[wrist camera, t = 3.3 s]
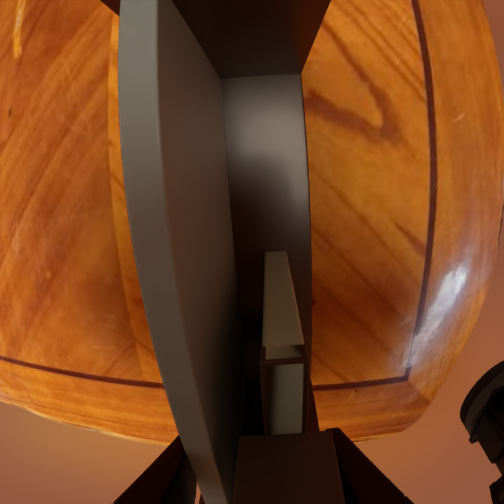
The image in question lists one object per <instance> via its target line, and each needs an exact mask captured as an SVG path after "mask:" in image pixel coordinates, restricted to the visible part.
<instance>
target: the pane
mask: <svg viewBox="0 0 504 504" xmlns="http://www.w3.org/2000/svg"><path fill="white" fill-rule="evenodd" d="M259 368H260V381H261V394H262V408H263V421H264V434H265V435H240V437H239V443H238V453H237V462H236V472H235V481H234V490H233V500H232V504H345V498H344V492H343V487H342V481H341V476H340V470H339V465H338V460H337V454H336V449H335V444H334V439H333V434H332V431H331V430H328V431H318V432H307V419H308V399H309V371H310V359H309V354H308V348H307V345H306V344H304V339H303V334H302V329H301V324H300V318H299V313H298V308H297V303H296V298H295V293H294V288H293V283H292V278H291V273H290V268H289V263H288V258H287V254H286V251H272V252H265V257H264V297H263V332H262V347H261V348H260V355H259Z"/></svg>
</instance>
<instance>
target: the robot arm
mask: <svg viewBox="0 0 504 504" xmlns="http://www.w3.org/2000/svg"><path fill="white" fill-rule="evenodd" d="M328 430H331V431H332V434H333V439H334V444H335V449H336V454H337V460H338V465H339V470H340V476H341V481H342V487H343V492H344V498H345V504H414V503H413V502H412V501H411V500H410V499H409V498H408V497H406V496H404V494H403V493H402V492H401V491H400V490H399V489H398V488H397V487H396V486H395V485H394V484H393V483H392V482H391V481H390V480H389V479H388V478H387V477H386V476H385V475H384V474H383V473H382V472H381V471H380V470H379V469H378V468H377V467H376V466H375V465H374V464H373V463H372V462H371V461H370V460H369V459H368V458H367V457H366V456H365V455H364V454H363V452H361V450H360V449H359V448H358V447H357V446H356V445H355V444H354V443H353V442H352V441H351V440H350V439H349V438H348V437H347V436H346V435H345V434H344V433H343V431H342V430H341V429H340V428H329V429H326V430H325V431H328ZM469 441H470V443H471V444H473V443H475V442H478V441H479V443H480V445H481V446H482V448H483V450H484V452H485V453H486V455H487V457H488V458H489V460H490V462H491V463H492V464H494V463H495V464H496V465H497V467H498V469H499V471H500V473H501V474H502V476H501V477H500V478H499V479H498V480H497V481H496V482H493V483H492V484H491V485H490V486H489V488H490V492H491V498H492V502H493V504H504V386H502V387H499V388H496V389H495V390H493V391H492V393H491V394H490V397H489V399H488V401H487V403H486V406H485V408H484V410H483V412H482V414H481V416H480V418H479V421H478V423H477V425H476V427H475V429H474V431H473V433H472V434H471V436H470V438H469ZM196 486H197V479H196V477H195V474H194V472H193V469H192V467H191V464H190V461H189V459H188V456H187V454H186V453H185V450H184V447H183V444H182V441H181V439H180V436H179V435H178V436H177V437H176V439H175V440H174V441H173V442H172V443H171V444H170V445H169V446H168V447H167V448H166V449H165V450H164V451H163V453H162V454H161V455H160V456H159V457H158V458H157V459H156V460H155V461H154V462H153V463H152V464H151V465H150V466H149V467H148V468H147V469H146V470H145V471H144V472H143V473H142V474H141V475H140V476H139V478H137V479H136V480H135V481H134V482H133V483H132V484H131V485H130V487H128V488H127V489H126V490H125V492H123V493H122V494H121V495H120V496H119V497H118V498H117V499H116V500H115V501H114V504H194V503H195V497H196Z"/></svg>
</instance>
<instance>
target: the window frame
mask: <svg viewBox="0 0 504 504" xmlns="http://www.w3.org/2000/svg"><path fill="white" fill-rule="evenodd" d="M100 1H102V2H103V3H104V4H105V5H106V6H107V7H109V8H110V9H111V10H112V11H113V12H115V13H116V14H117V15H118V16H119V17H120V19H119V41H118V100H119V124H120V140H121V154H122V166H123V176H124V186H125V195H126V203H127V211H128V218H129V225H130V232H131V239H132V245H133V251H134V257H135V263H136V269H137V274H138V279H139V285H140V290H141V295H142V300H143V304H144V309H145V314H146V318H147V322H148V327H149V331H150V335H151V339H152V343H153V347H154V351H155V355H156V359H157V363H158V367H159V370H160V374H161V378H162V381H163V385H164V388H165V391H166V395H167V398H168V402H169V405H170V408H171V411H172V414H173V417H174V421H175V424H176V427H177V430H178V433H179V436H180V439H181V441H182V444H183V447H184V450H185V453H186V454H187V456H188V459H189V461H190V464H191V467H192V469H193V472H194V474H195V477H196V479H197V484H198V487H199V489H200V492H201V495H200V501H199V504H232V500H233V490H234V481H235V472H236V462H237V453H238V443H239V437H240V435H265V434H264V421H263V408H262V394H261V381H260V368H259V355H260V348H261V347H262V332H263V297H264V257H265V252H272V251H286V254H287V258H288V263H289V268H290V273H291V278H292V283H293V288H294V293H295V298H296V303H297V308H298V313H299V318H300V324H301V329H302V334H303V339H304V344H306V345H307V348H308V354H309V359H310V371H309V399H308V419H307V432H318V431H320V430H319V424H318V418H317V412H316V406H315V400H314V394H313V388H312V382H311V346H312V249H311V214H310V190H309V170H308V154H307V138H306V125H305V112H304V101H303V90H302V79H301V72H302V70H303V67H304V65H305V62H306V60H307V57H308V55H309V52H310V50H311V48H312V45H313V43H314V40H315V38H316V35H317V33H318V30H319V28H320V25H321V23H322V21H323V18H324V16H325V13H326V11H327V9H328V6H329V4H330V1H331V0H100Z"/></svg>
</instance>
